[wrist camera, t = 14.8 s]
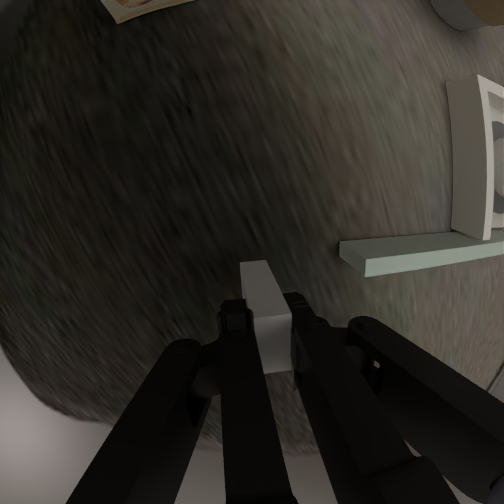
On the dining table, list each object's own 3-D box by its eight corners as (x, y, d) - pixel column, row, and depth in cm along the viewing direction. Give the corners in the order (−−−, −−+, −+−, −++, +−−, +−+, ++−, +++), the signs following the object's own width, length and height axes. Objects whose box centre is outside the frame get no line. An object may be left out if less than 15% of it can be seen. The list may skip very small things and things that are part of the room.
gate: (339, 241, 21) (366, 259, 17) (493, 228, 23) (522, 238, 19) (339, 256, 22) (364, 277, 17) (492, 238, 23) (520, 250, 19)
